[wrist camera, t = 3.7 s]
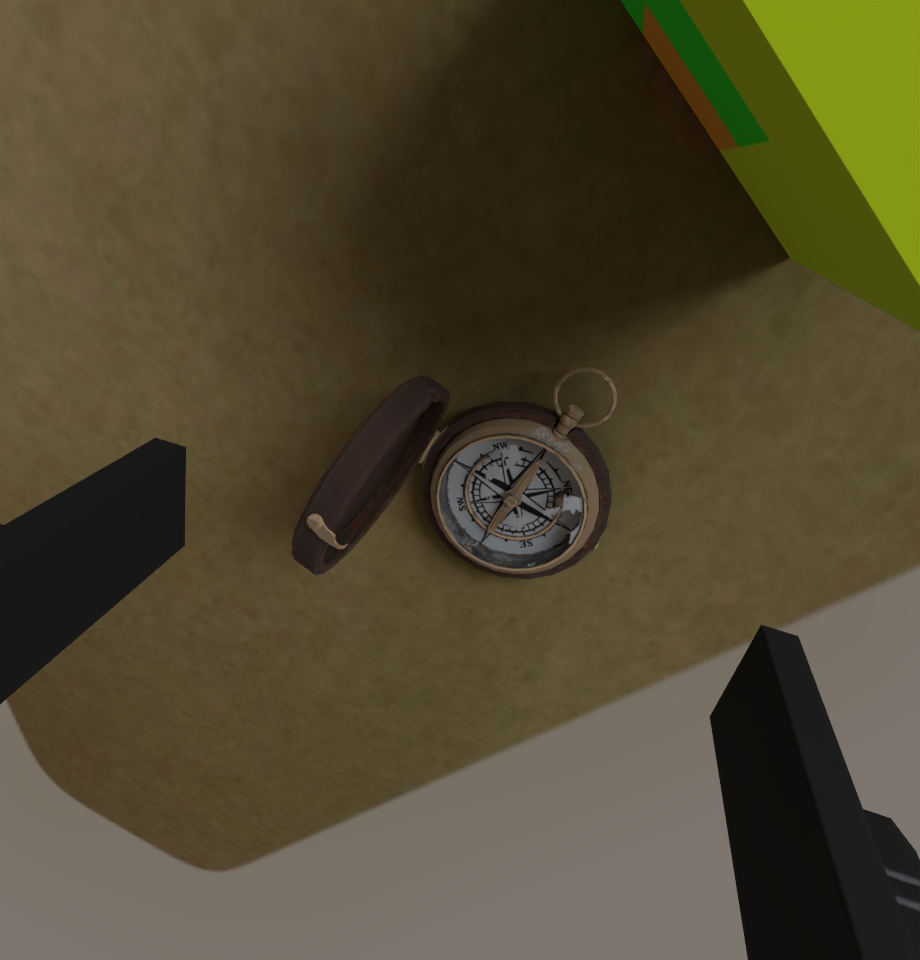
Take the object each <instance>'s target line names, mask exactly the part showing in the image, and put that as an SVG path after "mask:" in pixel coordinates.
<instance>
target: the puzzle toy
mask: <svg viewBox="0 0 920 960" xmlns="http://www.w3.org/2000/svg"><path fill="white" fill-rule="evenodd" d="M620 1H621V2H622V4H623V5H624V7H625V8H626V10H627V11H628V13H629V14H630V16H631V17H632V19H633V20H634V22H635V23H636V25H637V26H638V28H639V29H640V31H641V32H642V34H643V35H644V37H645V39H646V40H647V42H648V43H649V45H650V46H651V48H652V49H653V51H654V52H655V54H656V55H657V57H658V58H659V60H660V61H661V63H662V64H663V66H664V67H665V69H666V70H667V72H668V73H669V75H670V76H671V78H672V79H673V81H674V83H675V84H676V86H677V87H678V89H679V90H680V92H681V93H682V95H683V96H684V98H685V99H686V101H687V102H688V104H689V105H690V107H691V108H692V110H693V111H694V113H695V114H696V116H697V117H698V119H699V120H700V122H701V123H702V125H703V127H704V128H705V130H706V131H707V133H708V134H709V136H710V137H711V139H712V140H713V142H714V143H715V145H716V146H717V148H718V149H719V151H720V152H721V154H722V155H723V157H724V158H725V160H726V161H727V163H728V164H729V166H730V167H731V169H732V171H733V172H734V174H735V175H736V177H737V178H738V180H739V181H740V183H741V184H742V186H743V187H744V189H745V190H746V192H747V193H748V195H749V196H750V198H751V199H752V201H753V202H754V204H755V205H756V207H757V208H758V210H759V211H760V213H761V215H762V216H763V218H764V219H765V221H766V222H767V224H768V225H769V227H770V228H771V230H772V231H773V233H774V234H775V236H776V237H777V239H778V240H779V242H780V243H781V245H782V246H783V248H784V249H785V251H786V252H787V254H788V255H789V257H790V259H792V260H794V261H795V262H797V263H799V264H801V265H802V266H804V267H806V268H808V269H810V270H811V271H813V272H815V273H817V274H818V275H820V276H822V277H824V278H825V279H827V280H829V281H831V282H833V283H834V284H836V285H838V286H840V287H841V288H843V289H845V290H847V291H849V292H850V293H852V294H854V295H856V296H857V297H859V298H861V299H863V300H865V301H866V302H868V303H870V304H872V305H873V306H875V307H877V308H879V309H881V310H882V311H884V312H886V313H888V314H889V315H891V316H893V317H895V318H897V319H898V320H900V321H902V322H904V323H905V324H907V325H909V326H911V327H912V328H914V329H916V330H918V331H920V0H620Z"/></svg>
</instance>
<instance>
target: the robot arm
mask: <svg viewBox="0 0 920 960" xmlns="http://www.w3.org/2000/svg"><path fill="white" fill-rule="evenodd" d="M185 478H186V447H184V446H180V445H177V444H174V443H171V442H167V441H164V440H161V439H158V438H154V439H153V440H151V441H149V442H147V443H146V444H144V445H142V446H141V447H139V448H137V449H135V450H134V451H132V452H130V453H128V454H127V455H125V456H123V457H121V458H120V459H118V460H116V461H115V462H113V463H111V464H109V465H108V466H106V467H104V468H102V469H101V470H99V471H97V472H95V473H94V474H92V475H90V476H89V477H87V478H85V479H83V480H82V481H80V482H78V483H76V484H75V485H73V486H71V487H70V488H68V489H66V490H64V491H63V492H61V493H59V494H57V495H56V496H54V497H52V498H50V499H49V500H47V501H45V502H44V503H42V504H40V505H38V506H37V507H35V508H33V509H31V510H30V511H28V512H26V513H24V514H23V515H21V516H19V517H18V518H16V519H14V520H12V521H11V522H9V523H7V524H5V525H1V524H0V704H1V703H2V702H3V701H4V700H6V699H7V698H8V697H9V696H10V695H11V694H13V693H14V692H15V691H16V690H17V689H18V688H20V687H21V686H22V685H23V684H24V683H25V682H27V681H28V680H29V679H30V678H31V677H32V676H34V675H35V674H36V673H37V672H38V671H39V670H41V669H42V668H43V667H44V666H45V665H46V664H47V663H49V662H50V661H51V660H52V659H53V658H54V657H56V656H57V655H58V654H59V653H60V652H61V651H63V650H64V649H65V648H66V647H67V646H68V645H70V644H71V643H72V642H73V641H74V640H75V639H77V638H78V637H79V636H80V635H81V634H82V633H83V632H85V631H86V630H87V629H88V628H89V627H90V626H92V625H93V624H94V623H95V622H96V621H97V620H99V619H100V618H101V617H102V616H103V615H104V614H106V613H107V612H108V611H109V610H110V609H111V608H113V607H114V606H115V605H116V604H117V603H118V602H119V601H121V600H122V599H123V598H124V597H125V596H126V595H128V594H129V593H130V592H131V591H132V590H133V589H135V588H136V587H137V586H138V585H139V584H140V583H142V582H143V581H144V580H145V579H146V578H147V577H149V576H150V575H151V574H152V573H153V572H154V571H155V570H157V569H158V568H159V567H160V566H161V565H162V564H164V563H165V562H166V561H167V560H168V559H169V558H171V557H172V556H173V555H174V554H175V553H176V552H178V551H179V550H180V549H181V548H182V547H183V546H185ZM710 721H711V727H712V733H713V740H714V747H715V753H716V759H717V766H718V772H719V778H720V784H721V791H722V797H723V804H724V810H725V816H726V823H727V829H728V835H729V842H730V848H731V855H732V861H733V867H734V874H735V880H736V886H737V893H738V899H739V905H740V912H741V918H742V924H743V931H744V937H745V944H746V950H747V956H748V960H920V860H919V857H918V855H917V853H916V851H915V850H914V848H913V847H912V846H911V844H910V843H909V842H908V841H907V839H906V838H905V837H904V835H903V834H902V833H901V831H900V830H899V829H898V827H897V826H896V825H895V823H894V822H893V821H892V819H891V818H888V817H885V816H882V815H879V814H876V813H873V812H870V811H867V810H864V809H863V808H862V806H861V803H860V800H859V798H858V795H857V792H856V789H855V787H854V784H853V781H852V779H851V776H850V773H849V771H848V768H847V765H846V763H845V760H844V758H843V755H842V752H841V749H840V747H839V744H838V741H837V739H836V736H835V733H834V731H833V728H832V725H831V723H830V720H829V717H828V715H827V712H826V709H825V706H824V704H823V701H822V698H821V696H820V693H819V691H818V688H817V685H816V682H815V680H814V677H813V674H812V672H811V670H810V666H809V664H808V661H807V658H806V656H805V653H804V650H803V647H802V645H801V642H800V640H799V637H798V636H796V635H793V634H789V633H786V632H783V631H780V630H776V629H773V628H770V627H767V626H763V625H761V626H760V628H759V630H758V631H757V633H756V635H755V637H754V639H753V640H752V642H751V644H750V646H749V647H748V649H747V651H746V653H745V655H744V657H743V658H742V660H741V662H740V664H739V665H738V667H737V669H736V671H735V672H734V675H733V676H732V678H731V680H730V681H729V683H728V685H727V687H726V689H725V690H724V692H723V694H722V696H721V698H720V699H719V701H718V703H717V705H716V706H715V708H714V710H713V712H712V714H711V715H710Z"/></svg>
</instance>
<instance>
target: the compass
mask: <svg viewBox="0 0 920 960" xmlns="http://www.w3.org/2000/svg"><path fill="white" fill-rule="evenodd" d="M577 373H592V374H595V375H597V376H600V377H601V378H602V379H603V380H604V381H605V382H606V383H607V384H608V385H609V388H610V390H611V392H612V404H611V406H610V408H609V410H608V412H607V413H606V414H605V415H604V416H603V417H602V418H601V419H600V420H597V421H594V422H592V423H578V420H580V419H581V418H582V416H583V415H584V414H583V411H582V410H581V409H580V408H579V407H577V406H576V405H573V404H571V405H569V406H568V407H567V408H566V412H564V413H562V411H561V409H560V407H559V404H558V391H559V389H560V387H561V384H562V383H563V382H564V381H565V380H566V379H567V378H568V377H570V376H572V375H575V374H577ZM449 399H450V395H449V391H448V390H447V389H446V388H444V387H443V386H441V385H440V384H438V383H437V382H435V381H434V380H433V379H431V378H430V377H428V376H421V375H420V376H418V377H416V378H412V379H410V380H409V381H407V382H405V383H403V384H402V385H400V386H399V387H397V388H396V389H395V390H394V391H393V392H392V393H391V394H389V395H388V396H387V397H386V398H385V399H384V400H383V401H382V402H381V403H380V404H379V405H378V406H377V407H376V408H375V409H374V410H373V411H372V412H371V414H370V415H369V416H368V417H367V418H366V419H365V420H364V421H363V422H362V423H361V425H360V426H359V427H358V428H357V430H356V431H355V432H354V434H353V435H352V436H351V437H350V439H349V440H348V441H347V442H346V444H345V445H344V446H343V448H342V449H341V450H340V451H339V453H338V454H337V456H336V457H335V459H334V460H333V462H332V463H331V465H330V466H329V468H328V469H327V471H326V472H325V474H324V475H323V477H322V478H321V479H320V481H319V483H318V485H317V486H316V488H315V490H314V492H313V493H312V495H311V497H310V499H309V500H308V502H307V504H306V506H305V508H304V510H303V512H302V514H301V517H300V519H299V521H298V524H297V526H296V528H295V532H294V537H293V541H292V555H293V557H294V559H295V560H296V561H297V562H299V563H300V564H301V565H303V566H304V567H305V568H307V569H308V570H310V571H311V572H312V573H314V574H315V575H319V574H324V573H325V572H326V571H328V570H329V569H330V568H332V567H333V566H334V565H336V564H337V563H338V562H339V561H340V560H341V559H342V558H343V557H344V556H345V555H346V554H347V553H348V552H349V551H350V550H351V549H352V548H353V547H354V546H355V545H356V544H357V543H358V542H359V540H360V539H361V538H362V537H363V536H364V535H365V534H366V533H367V531H368V530H369V529H370V528H371V526H372V525H373V524H374V523H375V522H376V520H377V519H378V518H379V517H380V515H381V514H382V513H383V512H384V510H385V509H386V508H387V506H388V505H389V503H390V502H391V501H392V499H393V498H394V497H395V495H396V494H397V493H398V491H399V490H400V488H401V487H402V486H403V484H404V483H405V481H406V480H407V478H408V477H409V475H410V474H411V473H412V471H413V470H414V468H415V466H416V465H417V463H422V462H423V460H424V459H425V460H424V462H423V469H422V482H421V496H422V500H423V504H424V508H425V512H426V516H427V518H428V520H429V522H430V523H431V525H432V527H433V529H434V531H435V532H436V534H437V536H438V538H439V539H440V540H441V541H442V542H443V543H444V544H445V545H446V546H447V547H448V548H449V549H450V550H451V551H452V552H453V553H454V554H455V555H456V556H458V557H459V558H461V559H462V560H464V561H466V562H467V563H469V564H471V565H472V566H474V567H475V568H477V569H479V570H482V571H485V572H488V573H491V574H494V575H497V576H500V577H508V578H520V579H531V578H537V577H543V576H549V575H553V574H556V573H558V572H560V571H562V570H564V569H567V568H569V567H571V566H573V565H575V564H576V563H577V562H578V561H580V560H581V559H582V558H583V557H584V556H585V555H586V554H588V553H589V552H590V551H591V550H592V551H594V550H595V549H596V548H597V547H598V545H599V538H600V536H601V535H602V533H603V531H604V530H605V528H606V524H607V519H608V515H609V510H610V506H611V488H610V479H609V471H608V469H607V466H606V464H605V462H604V460H603V458H602V455H601V453H600V451H599V449H598V447H597V446H596V444H595V443H594V442H593V441H592V440H591V439H590V438H589V436H588V435H587V434H586V433H585V432H584V431H583V430H582V429H581V428H592V427H595V426H598V425H601V424H603V423H604V422H605V421H606V420H607V419H608V418H609V417H611V416H612V414H613V411H614V409H615V407H616V405H617V391H616V388H615V386H614V384H613V381H612V380H611V379H610V378H609V377H608V376H607V375H606V374H605V373H604V372H602V371H599V370H596V369H594V368H576V369H574V370H571V371H569V372H566V373H565V374H564V375H563V376H562V377H561V378H560V379H559V380H558V381H557V383H556V386H555V388H554V391H553V406H554V408H555V410H556V411H555V410H552V409H548V408H545V407H542V406H538V405H535V404H532V403H528V402H496V403H492V404H489V405H485V406H481V407H477V408H474V409H472V410H470V411H469V412H467V413H465V414H464V415H462V416H461V417H459V418H457V419H456V420H454V421H452V422H451V423H450V424H449V425H447V426H446V427H445V428H444V429H443V430H442V432H441V433H440V432H439V431H438V430H437V429H438V427H439V425H440V423H441V421H442V418H443V416H444V414H445V412H446V409H447V405H448V402H449Z"/></svg>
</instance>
